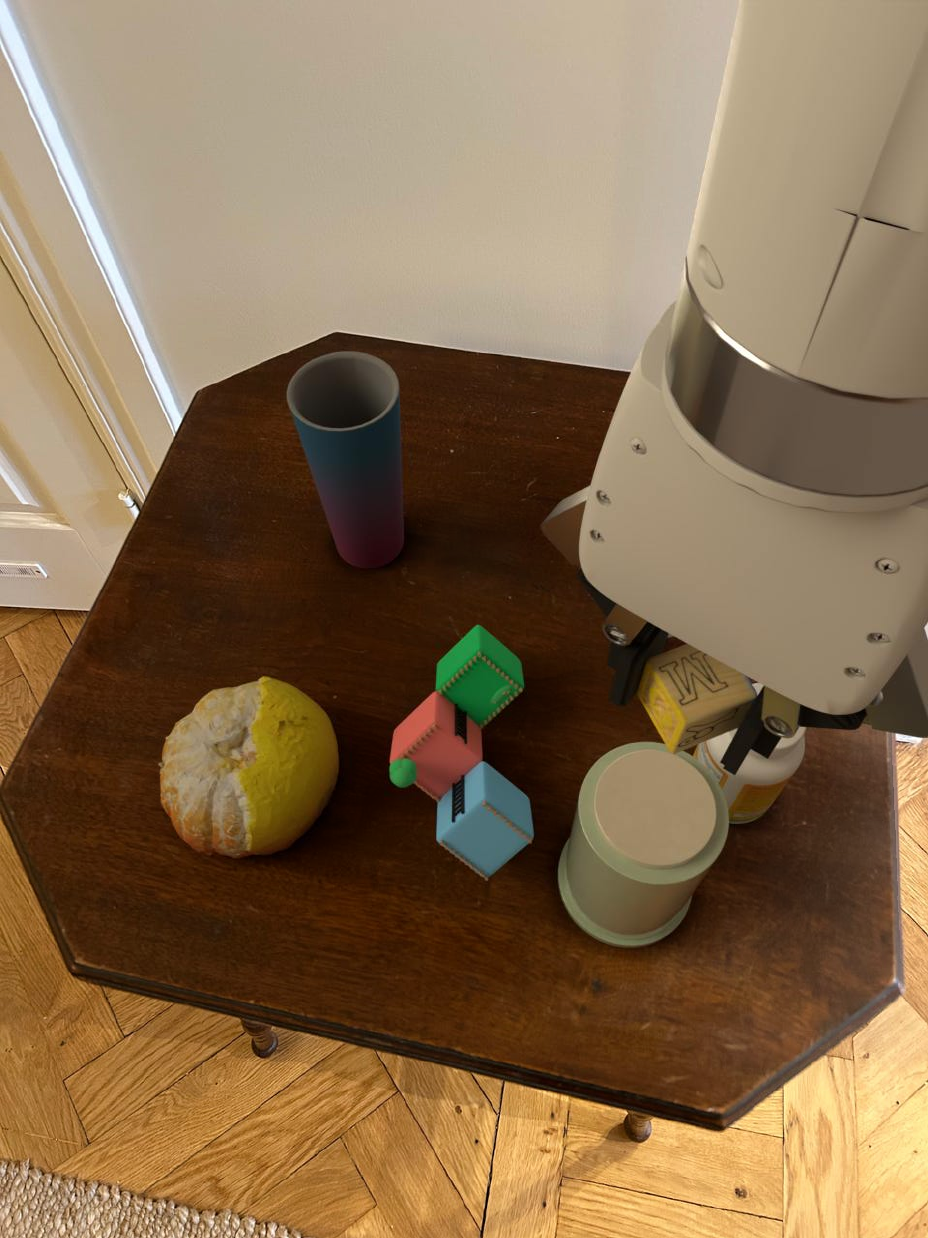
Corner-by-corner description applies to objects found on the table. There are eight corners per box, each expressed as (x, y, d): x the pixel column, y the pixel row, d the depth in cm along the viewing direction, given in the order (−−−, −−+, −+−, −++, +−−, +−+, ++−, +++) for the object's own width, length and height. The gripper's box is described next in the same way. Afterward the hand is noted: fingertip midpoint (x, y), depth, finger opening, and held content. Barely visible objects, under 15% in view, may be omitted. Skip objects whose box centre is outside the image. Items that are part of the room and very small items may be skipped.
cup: (406, 584, 65) (386, 436, 52) (314, 573, 66) (273, 424, 53) (423, 510, 69) (409, 356, 56) (336, 501, 69) (302, 346, 57)
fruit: (228, 673, 61) (231, 623, 54) (360, 754, 61) (381, 715, 54) (121, 814, 55) (109, 779, 48) (267, 904, 55) (276, 882, 48)
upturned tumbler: (714, 863, 54) (766, 786, 44) (649, 977, 50) (689, 922, 40) (601, 792, 56) (625, 703, 46) (531, 895, 53) (541, 824, 43)
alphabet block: (741, 730, 36) (761, 694, 33) (671, 758, 35) (685, 724, 32) (702, 667, 37) (718, 628, 35) (634, 693, 37) (645, 655, 34)
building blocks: (481, 771, 62) (486, 885, 51) (392, 699, 60) (377, 801, 49) (564, 696, 60) (587, 798, 49) (474, 618, 58) (478, 706, 47)
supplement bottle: (785, 769, 57) (836, 697, 49) (754, 842, 54) (801, 779, 46) (705, 730, 58) (740, 654, 50) (671, 799, 56) (702, 731, 48)
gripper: (1282, 396, 19) (930, 751, 35) (604, 150, 25) (560, 550, 40) (1197, 643, 16) (851, 913, 32) (441, 298, 22) (461, 671, 37)
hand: (689, 707), depth 36 cm, fingers closed on alphabet block, 4 cm apart
